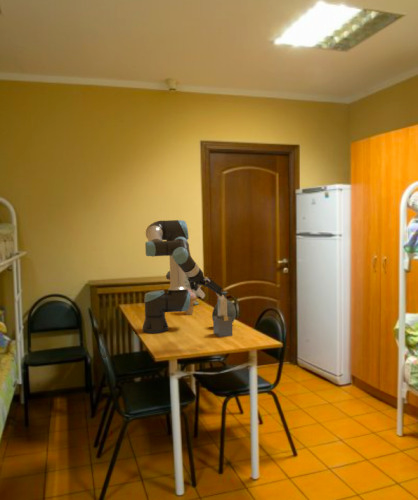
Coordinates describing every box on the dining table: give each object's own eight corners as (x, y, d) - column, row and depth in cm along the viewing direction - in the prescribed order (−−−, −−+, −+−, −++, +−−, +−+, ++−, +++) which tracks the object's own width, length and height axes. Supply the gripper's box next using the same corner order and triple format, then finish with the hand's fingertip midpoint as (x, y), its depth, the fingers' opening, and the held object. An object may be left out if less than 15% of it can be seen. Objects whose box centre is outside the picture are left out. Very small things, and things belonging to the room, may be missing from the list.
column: (220, 335, 243) (220, 299, 242) (218, 334, 247) (217, 298, 246) (227, 335, 245) (227, 298, 243) (225, 333, 248) (224, 297, 247)
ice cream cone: (179, 315, 305) (178, 286, 304) (183, 312, 316) (183, 284, 315) (194, 316, 303) (193, 286, 302) (198, 312, 313) (198, 284, 312)
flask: (207, 328, 267) (206, 291, 266) (232, 324, 274) (231, 289, 273) (216, 332, 257) (215, 294, 255) (241, 328, 264) (241, 291, 263)
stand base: (214, 341, 236) (213, 319, 235) (204, 334, 251) (204, 313, 250) (242, 338, 241) (241, 316, 240) (230, 332, 256) (230, 311, 255)
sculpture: (203, 305, 336) (195, 266, 334) (172, 312, 337) (163, 273, 335) (205, 300, 355) (197, 264, 354) (175, 307, 357) (166, 270, 355)
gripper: (172, 276, 232) (192, 301, 244) (208, 279, 216) (228, 306, 228) (179, 265, 236) (199, 290, 248) (215, 267, 219) (234, 294, 231)
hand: (213, 297), depth 238 cm, fingers open, 13 cm apart
